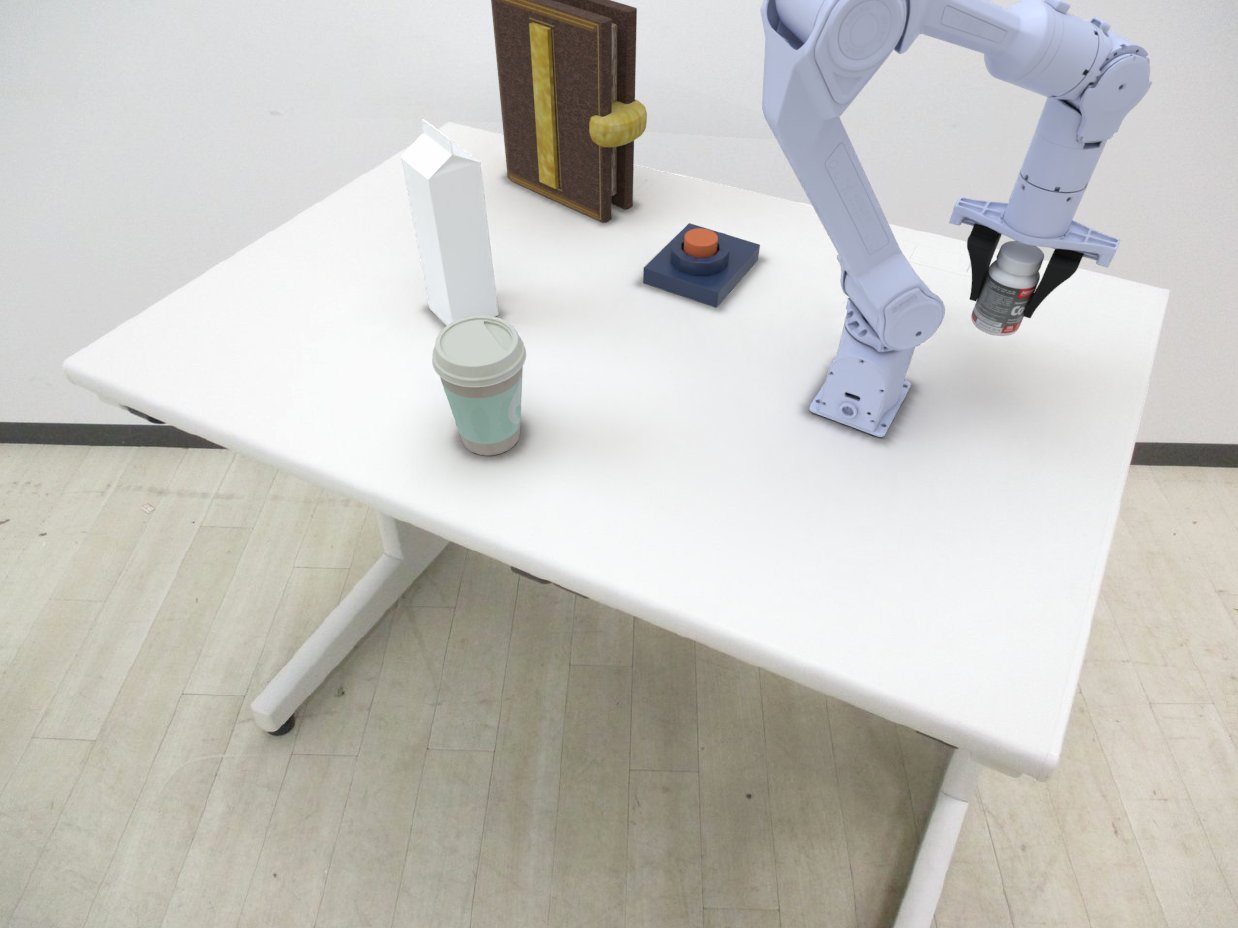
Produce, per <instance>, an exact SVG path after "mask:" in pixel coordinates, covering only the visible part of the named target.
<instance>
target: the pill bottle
mask: <svg viewBox="0 0 1238 928" xmlns="http://www.w3.org/2000/svg"><path fill="white" fill-rule="evenodd" d="M1044 260H1045V253H1044V251H1043V250H1042V249H1041V247H1039V246H1032V245H1027V244H1024V243H1021V242H1018V241H1016V240H1009V241H1006V242H1004V243H1003V244H1001V246H1000V248H999V250H998V253H997V255H996V259H995V260H994V261H992V262H991V263H990V267H989V269H988V272H987V275H986V277H985V280H984V283H983V285H982V288H981V291H980V294H979V296H978V299H977V301H975V304H974V307H973V309H972V312H971V314H970V315H971V316H970V319H971V323H972V325H973V326H975V327H976V329H978V330H979V331H981V332H983V333H986V334H988V335H990V336H995V337H1007V336H1011V335H1014V334H1015V333H1016V332H1017V331H1018V330H1019V328H1020V327H1021V325H1022V322H1023V319H1024V318H1025V317H1024V313H1025V311H1026V309H1027V306H1028V304H1029V303H1030V301H1031V299H1032V296H1033V294H1034V292H1035V290H1036V289H1037V287H1038V285H1039V283H1040V280H1041V279H1040V278H1041V274H1040V269H1041V268H1042V264H1043V262H1044Z"/></svg>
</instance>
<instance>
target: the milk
mask: <svg viewBox="0 0 1238 928" xmlns="http://www.w3.org/2000/svg"><path fill="white" fill-rule="evenodd" d="M421 127H422V133H421V135H419V136H418V137H417V138H416V139H415V141H413V142H412V143H411V145H410V146H408V148H407V149H406V150H405V151H403V153H402V154H401V156H400V160H401V166H402V167H401V168H402V171H403V177H404V182H405V187H406V188H405V189H406V193H407V197H408V198H407V199H408V202H409V209H410V213H411V214H410V215H411V218H412V224H413V229H414V234H415V235H414V236H415V239H416V245H417V251H418V256H419V261H420V265H421V266H420V267H421V272H422V276H423V282H424V287H425V292H426V298H427V303H428V308H429V310H430V311H431V312H432V313H433V314H434V315H435V316H436V317H437V318H438V319H439V320H440V321H441V322H442V323H443V324H444V325H445V327H446V326H447V325H449V324H450V323H452V322H454V321H456V320H459V319H462V318H465V317H470V316H492V317H498V316H499V315H500V314H499V306H498V298H497V297H498V296H497V289H496V280H495V271H494V264H493V254H492V246H491V239H490V229H489V222H488V221H489V220H488V214H487V205H486V198H485V190H484V181H483V171H482V164H481V161H480V160H478V159H477V158H475V157H474V156H473V155H471V154H470V153H469V152H467V151H466V150H465V149H464V148H462V147H460V146H459V145H458V144H457V143H456V142H454V141H453V140H451V139H450V137H449V136H447V135H446V134H444V133H443V132H441V131H440V130H439V129H438V128H436V127H435V125H433V124H431V123H430V122H429V121H427V120H426V119H424V118H422V119H421Z"/></svg>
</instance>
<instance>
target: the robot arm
mask: <svg viewBox="0 0 1238 928" xmlns="http://www.w3.org/2000/svg"><path fill="white" fill-rule="evenodd" d="M1070 8H1071V3H1069V2H1067V1H1065V0H1019V1H1016V2H1015V3H1013V4H1012V5H1010V6H1009V7H1007V8H1005V7H1003V6H1002V5H999V4H997V3H995V2H992V1H991V0H763V1H762V3H761V6H760V16H761V21H762V28H763V31H764V39H765V41H764V57H763V58H764V59H763V60H764V61H763V76H762V77H763V79H762V80H763V81H762V98H761V99H762V100H761V110H762V113H763V116H764V119H765V121H766V123H767V125H768V127H769V129H770V130H771V132H772V134H773V136H774V138H775V140H776V141H777V143H778V145H779V147H780V149H781V151H782V153H783V155H784V157H785V158H786V160H787V162H788V164H789V166H790V168H791V169H792V171H793V173H794V174H795V176H796V179H797V180H798V182H799V184H800V186H801V188H802V190H803V191H804V193H805V195H806V197H807V199H808V201H809V203H810V205H811V207H812V208H813V210H814V211H815V214H816V215H817V217H818V220H819V221H820V223H821V224H822V226H823V228H824V230H825V232H826V233H827V236H828V237H829V239H830V241H831V243H832V245H833V246H834V248H835V250H836V252H837V254H836V260H837V261H838V263H839V265H840V270H841V271H840V287H841V290H842V291H843V294H845V295H846V296H847V301H846V304H845V305H846V306H845V309H846V315H845V317H844V322H843V325H842V330H841V334H840V338H839V343H838V347H837V351H836V354H835V357H834V358H833V360H832V361H831V363H830V365H829V367H828V370H827V372H826V373H827V374H826V378H825V382H824V383H823V385H822V386H821V387H820V389H819V391H818V392H817V394H816V395H815V397H814V398H813V400H812V402H811V404H810V405H809V409H808V410H809V411H810V412H811V413H813V414H815V415H818V416H821V417H824V418H826V419H830V420H832V421H835V422H837V423H840V424H842V425H845V426H847V427H851V428H853V429H856V430H859V431H862V432H864V433H867V434H870V435H873V436H875V437H878V438H884V437H885V435H886V433H887V432H888V430H889V428H890V426H891V425H892V423H893V420H894V419H895V417H896V415H897V413H898V412H899V410H900V407H901V406H902V404H903V402H904V400H905V398H906V396H907V394H908V392H909V391H910V389H911V386H912V383H911V382H910V381H909V380H906V377H907V373H908V371H909V368H910V364H911V362H912V360H913V356H914V353H915V350H916V347H920V346H921V345H922V344H924V343H925V342H926V341H928V340H929V339H930V338H932V336H933V335H934V334H935V333H936V332H937V331H938V329H939V328H940V327H941V325H942V323H943V321H944V318H945V315H946V308H945V304H944V300H942V298H941V297H940V296H939V295H937V294H935V293H934V292H933V291H932V290H931V289H930V288H929V287H928V285H926V283H925V282H924V281H923V280H922V279H921V277H920V276H919V275H918V273H916V271H915V270H914V268H913V266H912V265H911V263H910V262H909V261H908V259H907V257H906V256H905V255H904V253H903V252H902V249H901V247H900V245H899V244H898V242H897V241H898V240H897V239H896V236H895V235H894V233H893V232H894V231H892V228H891V226H890V223H889V221H888V220H887V217H886V215H885V213H884V211H883V209H882V207H881V204H880V202H879V200H878V198H877V196H876V194H875V191H874V189H873V187H872V185H871V182H870V181H869V178H868V177H867V174H866V171H865V170H864V167H863V165H862V162H861V161H860V159H859V156H858V154H857V153H856V149H855V148H854V146H853V144H852V141H851V139H850V137H849V135H848V133H847V131H846V128H845V126H844V124H843V122H842V120H841V116H842V115H843V114H844V113H845V111H846V110H847V109H848V108H849V107H850V105H851V104H852V103H853V102H854V100H855V99H856V98H857V97H858V95H859V94H860V93H861V91H862V90H863V89H864V88H865V87H866V85H867V84H868V83H869V82H870V80H871V79H872V78H873V77H874V75H876V74H877V72H878V71H879V70H880V68H881V67H882V66H883V64H884V63H885V62H886V61H887V59H888V58H889V57H890V56H891V54H892V53H893V51H895V53H897V54H899V55H902V54H905V53H906V52H908V50H909V49H910V47H911V46H912V45H913V44H914V42H915V41H916V40H917V38H918V37H919V36H920V35H924V36H928V37H930V38H933V39H937V40H940V41H942V42H946V43H949V44H952V45H955V46H958V47H961V48H964V49H967V50H968V49H969V50H971V51H975V52H978V53H981V54H983V61H984V65H985V68H986V70H987V72H988V73H989V74H990V76H992V77H993V78H994V79H997V80H1000V81H1001V82H1005V83H1008V84H1010V85H1014V86H1016V87H1018V88H1022V89H1023V90H1027V91H1029V92H1032V93H1035V94H1038V95H1040V96H1043V97H1046V100H1045V102H1044V106H1043V108H1042V110H1041V113H1040V116H1039V119H1038V121H1037V124H1036V127H1035V130H1034V132H1033V136H1032V138H1031V140H1030V143H1029V146H1028V149H1027V151H1026V154H1025V156H1024V159H1023V162H1022V163H1021V164H1022V165H1021V168H1020V170H1019V173H1018V175H1017V178H1016V180H1015V183H1014V186H1013V188H1012V191H1011V194H1010V197H1009V199H1008V202H1001V201H991V200H982V199H976V198H975V199H973V198H968V197H965V196H959V198H958V199H957V201H956V202H955V204H954V206H953V209H952V211H951V215H950V218H949V222H948V223H949V224H952V225H955V226H961V225H962V224H965V225H968V226H971V227H972V228H971V231H970V234H969V235H968V237H967V239H966V250H967V252H968V256H969V260H970V268H971V269H970V270H971V287H970V294H969V300H970V301H973V302H976V301H977V299H978V296H979V294H980V291H981V288H982V285H983V283H984V280H985V277H986V275H987V272H988V269H989V267H990V265H991V264H992V261H993V257H994V255H995V252H996V249H997V248H998V245H999V242H1000V240H1001V237H1002V235H1003V236H1004V237H1007V238H1009V239H1012V241H1018V242H1021V243H1024V244H1027V245H1032V246H1037V247H1038V248H1049V249H1054V250H1053V252H1052V254H1051V257H1050V258H1049V261H1048V263H1047V265H1046V268H1045V270H1044V273H1043V274H1042V277H1041V279H1040V280H1039V282H1038V285H1037V287H1036V290H1035V292H1034V294H1033V296H1032V299H1031V301H1030V303H1029V304H1028V306H1027V309H1026V311H1025V313H1024V317H1023V318H1028V319H1031V318H1032V316H1033V314H1034V313H1035V312H1036V310H1037V309H1038V307H1039V306H1040V305H1041V304H1042V302H1044V301H1045V299H1046V298H1047V297H1048V296H1049V295H1050V294H1051V293H1052V292H1053V291H1055V290H1056V289H1057V288H1058V287H1059V286H1061V285H1062V284H1063V283H1064V282H1066V281H1067V280H1069V279H1070V278H1071V277H1072V276H1073V275H1074V274H1075V273H1076V272H1077V271H1078V268H1079V266H1080V264H1081V261H1082V260H1083V258H1085V259H1089V260H1093V261H1095V264H1096V265H1098V266H1099V267H1100V266H1101V267H1105V268H1109V267H1110V265H1111V263H1112V261H1113V259H1114V256H1115V255H1116V253H1117V251H1118V249H1119V245H1120V243H1121V238H1117V237H1114V236H1110V235H1108V234H1105V233H1103V232H1100V231H1098V230H1095V229H1093V228H1092V227H1089V226H1086V225H1085V224H1082V223H1080V222H1078V221H1075V220H1074V217H1075V215H1076V212H1077V210H1078V208H1079V206H1080V203H1081V202H1082V199H1083V197H1084V195H1085V192H1086V190H1087V189H1088V185H1089V183H1090V181H1091V178H1092V176H1093V174H1094V172H1095V169H1096V168H1097V165H1098V162H1099V160H1100V159H1101V155H1102V154H1103V152H1104V149H1105V147H1106V144H1107V142H1108V140H1110V139H1112V137H1113V136H1114V135H1115V134H1117V133H1118V132H1119V129H1120V127H1121V125H1122V123H1123V121H1124V119H1125V118H1126V116H1127V115H1128V114H1129V113H1130V112H1131V111H1132V110H1133V109H1135V108H1136V106H1137V105H1139V104H1140V102H1141V101H1142V100H1143V98H1144V97H1145V96H1146V94H1148V92H1149V89H1150V88H1151V86H1152V85H1153V81H1151V80H1150V77H1151V67H1150V61H1151V60H1150V58H1149V57H1147V56H1149V53H1148V52H1147V50H1146V49H1145V48H1144V47H1142V46H1141V45H1139V44H1137V43H1135V42H1134V41H1131V40H1130V39H1127V38H1126V37H1125V36H1122V35H1121V34H1119V33H1117V32H1115V31H1113V30H1112V29H1111V26H1112V25H1111V24H1110V23H1109V22H1107V21H1105V20H1104V19H1102V18H1100V17H1097V16H1093V17H1092V18H1087V19H1084V18H1081V17H1080V16H1078V15H1075V14H1073V13H1070V12H1068V11H1069V10H1070Z"/></svg>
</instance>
